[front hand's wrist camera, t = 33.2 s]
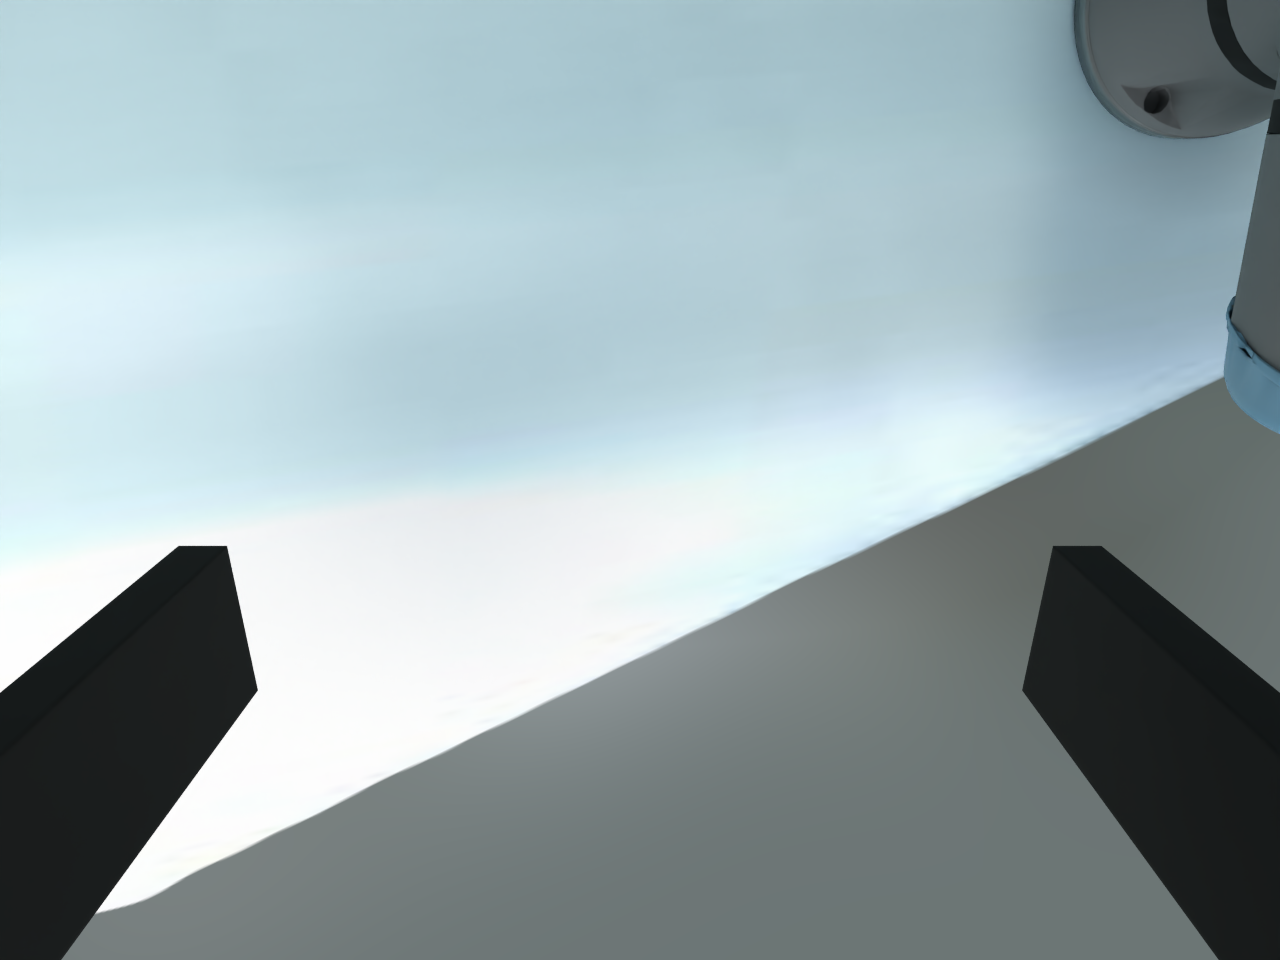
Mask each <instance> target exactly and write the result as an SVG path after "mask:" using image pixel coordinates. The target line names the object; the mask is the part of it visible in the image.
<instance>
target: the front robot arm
mask: <svg viewBox="0 0 1280 960" xmlns="http://www.w3.org/2000/svg"><path fill="white" fill-rule="evenodd" d="M1075 37H1076V46H1077V51H1078V56H1079V60H1080V63H1081V67H1082V70H1083V73H1084V75H1085V77H1086V80H1087V82H1088V84H1089V86H1090V87H1091V89H1092V91H1093V93H1094V94H1095V96H1096V97H1097V98H1098V100H1099V101H1100V103H1101V104H1102V105H1103V106H1104V107H1105V108H1106V109H1107V110H1108V111H1109V112H1110V113H1111V114H1112V115H1113V116H1114V117H1116V118H1117V119H1118V120H1119V121H1121V122H1122V123H1124V124H1126V125H1127V126H1129V127H1131V128H1133V129H1135V130H1137V131H1139V132H1142V133H1145V134H1148V135H1151V136H1156V137H1161V138H1170V139H1191V138H1205V137H1214V136H1219V135H1223V134H1228V133H1231V132H1234V131H1237V130H1241V129H1244V128H1247V127H1250V126H1252V125H1255V124H1258V123H1260V122H1262V121H1264V120H1266V119H1269V118H1270V121H1269V126H1268V131H1267V133H1269V134H1266V139H1265V145H1264V150H1263V155H1262V160H1261V166H1260V171H1259V176H1258V181H1257V187H1256V192H1255V197H1254V202H1253V208H1252V213H1251V218H1250V223H1249V229H1248V234H1247V239H1246V244H1245V250H1244V255H1243V260H1242V265H1241V271H1240V276H1239V281H1238V287H1237V292H1236V296H1234V297H1233V298H1232V300H1231V301H1230V303H1229V306H1228V309H1227V313H1226V320H1227V329H1228V332H1229V335H1228V342H1227V349H1226V357H1225V364H1224V379H1225V381H1226V384H1227V388H1228V391H1229V393H1230V395H1231V397H1232V399H1233V400H1234V402H1235V403H1236V404H1237V405H1238V406H1239V407H1240V408H1241V409H1242V410H1243V411H1244V412H1245V413H1246V414H1248V415H1249V416H1250V417H1251V418H1253V419H1254V420H1255V421H1257V422H1259V423H1260V424H1262V425H1263V426H1265V427H1267V428H1269V429H1270V430H1272V431H1274V432H1277V433H1279V434H1280V0H1076V8H1075ZM257 691H258V689H257V684H256V680H255V675H254V670H253V666H252V661H251V656H250V652H249V647H248V642H247V638H246V633H245V628H244V624H243V619H242V614H241V610H240V605H239V600H238V596H237V591H236V586H235V582H234V577H233V572H232V568H231V563H230V558H229V554H228V549H227V546H178V547H177V548H176V549H174V550H173V551H172V552H171V553H170V554H168V555H167V556H166V557H165V558H163V559H162V560H161V561H160V562H159V563H157V564H156V565H155V566H154V567H153V568H151V569H150V570H149V571H148V572H146V573H145V574H144V575H143V576H142V577H140V578H139V579H138V580H137V581H136V582H134V583H133V584H132V585H131V586H129V587H128V588H127V589H126V590H125V591H123V592H122V593H121V594H120V595H119V596H117V597H116V598H115V599H114V600H112V601H111V602H110V603H109V604H108V605H106V606H105V607H104V608H103V609H102V610H100V611H99V612H98V613H97V614H95V615H94V616H93V617H92V618H91V619H89V620H88V621H87V622H86V623H84V624H83V625H82V626H81V627H80V628H78V629H77V630H76V631H75V632H74V633H72V634H71V635H70V636H69V637H67V638H66V639H65V640H64V641H63V642H61V643H60V644H59V645H58V646H57V647H55V648H54V649H53V650H52V651H50V652H49V653H48V654H47V655H46V656H44V657H43V658H42V659H41V660H40V661H38V662H37V663H36V664H35V665H33V666H32V667H31V668H30V669H29V670H27V671H26V672H25V673H24V674H23V675H21V676H20V677H19V678H18V679H16V680H15V681H14V682H13V683H12V684H10V685H9V686H8V687H7V688H6V689H4V690H3V691H2V692H1V693H0V960H61V959H62V958H63V957H64V955H65V954H66V953H67V951H68V950H69V948H70V947H71V946H72V944H73V943H74V942H75V940H76V939H77V937H78V936H79V935H80V933H81V932H82V931H83V929H84V928H85V926H86V925H87V924H88V922H89V921H90V920H91V918H92V917H93V916H94V914H95V913H96V911H97V910H98V909H99V907H100V906H101V905H102V903H103V902H104V900H105V899H106V898H107V896H108V895H109V894H110V892H111V891H112V889H113V888H114V887H115V885H116V884H117V883H118V881H119V880H120V879H121V877H122V876H123V874H124V873H125V872H126V870H127V869H128V868H129V866H130V865H131V863H132V862H133V861H134V859H135V858H136V857H137V855H138V854H139V852H140V851H141V850H142V848H143V847H144V846H145V844H146V843H147V842H148V840H149V839H150V837H151V836H152V835H153V833H154V832H155V831H156V829H157V828H158V826H159V825H160V824H161V822H162V821H163V820H164V818H165V817H166V815H167V814H168V813H169V811H170V810H171V809H172V807H173V806H174V805H175V803H176V802H177V800H178V799H179V798H180V796H181V795H182V794H183V792H184V791H185V789H186V788H187V787H188V785H189V784H190V783H191V781H192V780H193V778H194V777H195V776H196V774H197V773H198V772H199V770H200V769H201V767H202V766H203V765H204V763H205V762H206V761H207V759H208V758H209V757H210V755H211V754H212V752H213V751H214V750H215V748H216V747H217V746H218V744H219V743H220V741H221V740H222V739H223V737H224V736H225V735H226V733H227V732H228V730H229V729H230V728H231V726H232V725H233V724H234V722H235V721H236V720H237V718H238V717H239V715H240V714H241V713H242V711H243V710H244V709H245V707H246V706H247V704H248V703H249V702H250V700H251V699H252V698H253V696H254V695H255V693H256V692H257ZM1022 691H1023V692H1024V693H1025V695H1026V696H1027V697H1028V699H1029V700H1030V702H1031V703H1032V704H1033V706H1034V707H1035V709H1036V710H1037V711H1038V713H1039V714H1040V715H1041V717H1042V718H1043V720H1044V721H1045V722H1046V723H1047V725H1048V726H1049V728H1050V729H1051V730H1052V732H1053V733H1054V735H1055V736H1056V737H1057V739H1058V740H1059V741H1060V743H1061V744H1062V746H1063V747H1064V748H1065V750H1066V751H1067V752H1068V754H1069V755H1070V757H1071V758H1072V759H1073V761H1074V762H1075V763H1076V765H1077V766H1078V767H1079V769H1080V770H1081V772H1082V773H1083V774H1084V776H1085V777H1086V778H1087V780H1088V781H1089V782H1090V784H1091V785H1092V787H1093V788H1094V789H1095V791H1096V792H1097V793H1098V795H1099V796H1100V798H1101V799H1102V800H1103V802H1104V803H1105V805H1106V806H1107V807H1108V809H1109V810H1110V811H1111V813H1112V814H1113V815H1114V817H1115V818H1116V819H1117V821H1118V822H1119V824H1120V825H1121V826H1122V828H1123V829H1124V831H1125V832H1126V833H1127V835H1128V836H1129V837H1130V839H1131V840H1132V841H1133V843H1134V844H1135V845H1136V847H1137V848H1138V850H1139V851H1140V852H1141V854H1142V855H1143V857H1144V858H1145V859H1146V861H1147V862H1148V863H1149V865H1150V866H1151V867H1152V869H1153V870H1154V872H1155V873H1156V874H1157V876H1158V877H1159V878H1160V880H1161V881H1162V883H1163V884H1164V885H1165V887H1166V888H1167V889H1168V891H1169V892H1170V894H1171V895H1172V896H1173V898H1174V899H1175V900H1176V902H1177V903H1178V905H1179V906H1180V907H1181V909H1182V910H1183V911H1184V913H1185V914H1186V916H1187V917H1188V918H1189V920H1190V921H1191V922H1192V924H1193V925H1194V927H1195V928H1196V929H1197V931H1198V932H1199V933H1200V935H1201V936H1202V937H1203V939H1204V940H1205V942H1206V943H1207V944H1208V946H1209V947H1210V948H1211V950H1212V951H1213V953H1214V954H1215V955H1216V957H1217V958H1218V959H1219V960H1280V693H1279V692H1278V691H1277V690H1276V689H1274V688H1273V687H1272V686H1271V685H1270V684H1268V683H1267V682H1266V681H1265V680H1264V679H1262V678H1261V677H1260V676H1259V675H1257V674H1256V673H1255V672H1254V671H1253V670H1251V669H1250V668H1249V667H1248V666H1247V665H1245V664H1244V663H1243V662H1242V661H1240V660H1239V659H1238V658H1237V657H1236V656H1234V655H1233V654H1232V653H1231V652H1229V651H1228V650H1227V649H1226V648H1225V647H1223V646H1222V645H1221V644H1220V643H1219V642H1217V641H1216V640H1215V639H1214V638H1212V637H1211V636H1210V635H1209V634H1208V633H1206V632H1205V631H1204V630H1203V629H1202V628H1200V627H1199V626H1198V625H1197V624H1195V623H1194V622H1193V621H1192V620H1191V619H1189V618H1188V617H1187V616H1186V615H1185V614H1183V613H1182V612H1181V611H1180V610H1178V609H1177V608H1176V607H1175V606H1174V605H1172V604H1171V603H1170V602H1169V601H1168V600H1166V599H1165V598H1164V597H1163V596H1161V595H1160V594H1159V593H1158V592H1157V591H1155V590H1154V589H1153V588H1152V587H1150V586H1149V585H1148V584H1147V583H1146V582H1144V581H1143V580H1142V579H1141V578H1140V577H1138V576H1137V575H1136V574H1135V573H1134V572H1132V571H1131V570H1130V569H1129V568H1127V567H1126V566H1125V565H1124V564H1122V563H1121V562H1120V561H1119V560H1118V559H1116V558H1115V557H1114V556H1113V555H1112V554H1110V553H1109V552H1108V551H1107V550H1106V549H1104V548H1103V547H1102V546H1053V549H1052V554H1051V558H1050V563H1049V568H1048V572H1047V577H1046V582H1045V586H1044V591H1043V596H1042V600H1041V605H1040V610H1039V615H1038V619H1037V624H1036V628H1035V633H1034V638H1033V642H1032V647H1031V652H1030V656H1029V661H1028V666H1027V670H1026V675H1025V680H1024V684H1023V689H1022Z"/></svg>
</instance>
